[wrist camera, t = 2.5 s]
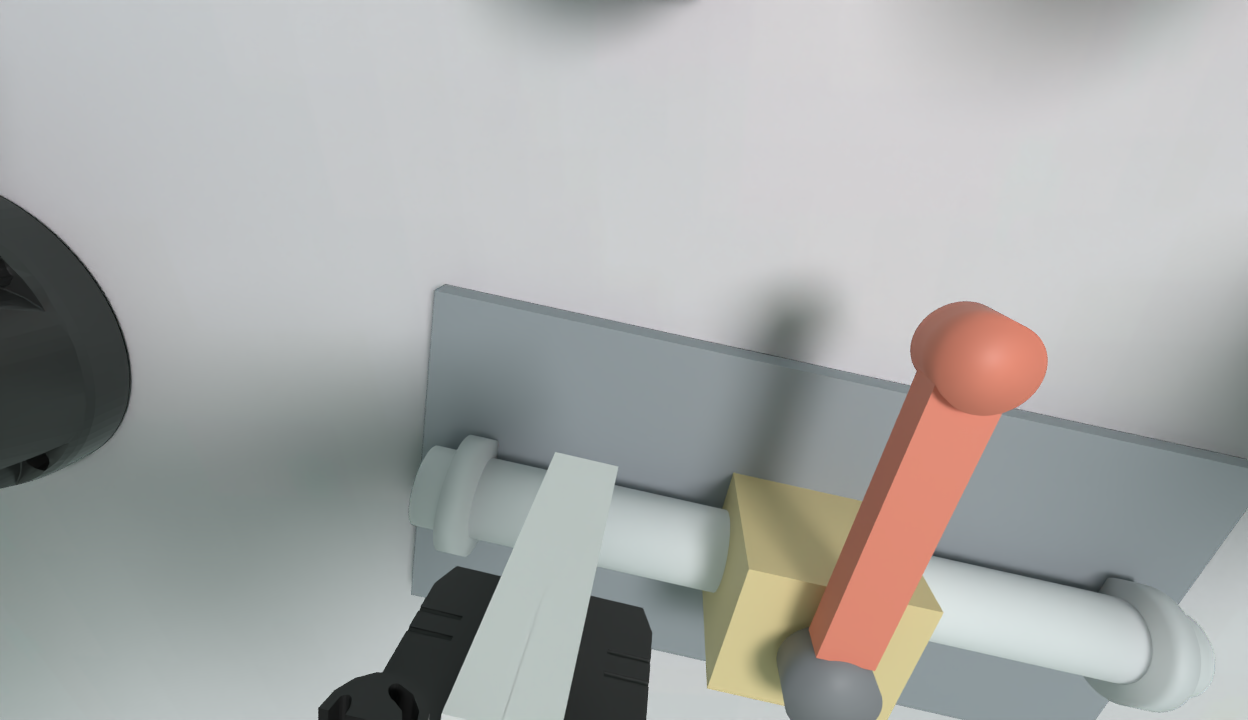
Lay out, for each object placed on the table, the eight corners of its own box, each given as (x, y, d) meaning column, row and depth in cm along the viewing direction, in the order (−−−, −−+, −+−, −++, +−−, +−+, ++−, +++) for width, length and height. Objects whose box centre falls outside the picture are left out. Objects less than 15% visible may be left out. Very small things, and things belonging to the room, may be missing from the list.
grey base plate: (420, 578, 32) (346, 703, 25) (445, 284, 26) (355, 337, 19) (1062, 723, 31) (1174, 893, 24) (1245, 459, 25) (1468, 583, 18)
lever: (848, 697, 22) (864, 748, 20) (765, 678, 22) (773, 728, 20) (1032, 314, 16) (1078, 336, 14) (920, 290, 16) (951, 309, 14)
